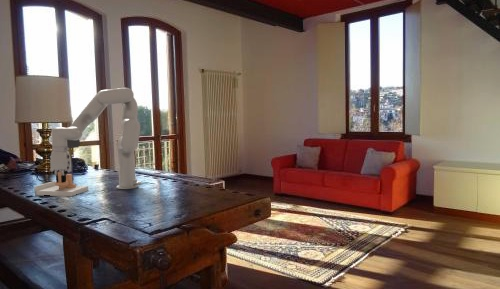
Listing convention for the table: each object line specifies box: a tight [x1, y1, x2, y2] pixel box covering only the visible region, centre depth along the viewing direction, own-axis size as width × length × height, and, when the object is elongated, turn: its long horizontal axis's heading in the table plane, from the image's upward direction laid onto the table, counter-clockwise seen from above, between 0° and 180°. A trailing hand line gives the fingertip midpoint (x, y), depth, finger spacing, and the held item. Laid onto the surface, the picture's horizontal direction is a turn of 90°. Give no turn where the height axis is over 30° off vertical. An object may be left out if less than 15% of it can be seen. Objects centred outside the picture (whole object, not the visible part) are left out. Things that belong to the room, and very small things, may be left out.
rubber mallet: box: [67, 139, 81, 182], centre depth 241 cm, size 12×8×30 cm, turn 140°
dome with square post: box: [55, 170, 68, 189], centre depth 205 cm, size 7×7×10 cm
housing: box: [34, 174, 89, 197], centre depth 209 cm, size 22×16×10 cm
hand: (61, 181), depth 205 cm, fingers closed on dome with square post
